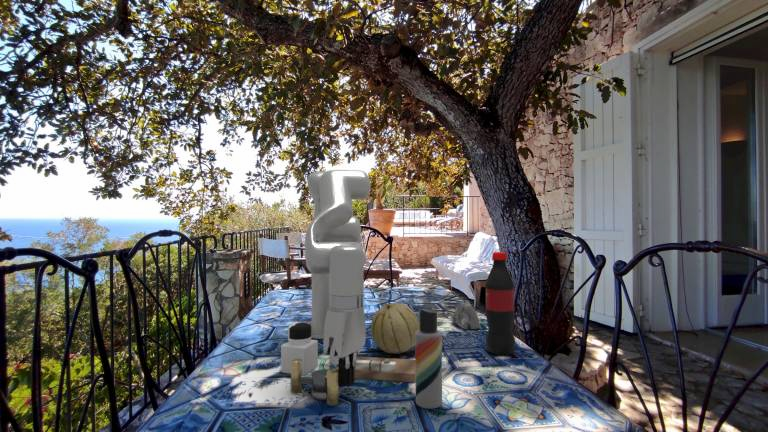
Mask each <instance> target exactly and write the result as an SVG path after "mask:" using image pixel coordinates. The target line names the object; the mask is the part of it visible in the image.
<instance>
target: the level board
mask: <svg viewBox="0 0 768 432" xmlns="http://www.w3.org/2000/svg"><path fill="white" fill-rule="evenodd" d="M335 369H337V370H338V367H337V366H336V368H335ZM354 379H358V380H359V379H360V380H374V381H386V382H387V381H388V382H389V381H390V382H403V383H404V382H405V383H415V359H405V358H388V357H386V358H385V357H372V356H357V357H356V364H355V365H354Z"/></svg>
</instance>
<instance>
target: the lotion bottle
mask: <svg viewBox="0 0 768 432" xmlns="http://www.w3.org/2000/svg"><path fill="white" fill-rule="evenodd" d="M418 313H419V315H418V316H419V319H418V320H419V324H420V330H418V331H416V332H415V345H414V346H415V347H414V349H415V350H414V353H415V354H414V355H415V357H414V360H415V382H414V383H415V388H414V389H415V403H416V405H417V406H418V407H420V408H422V409H430V410H431V409H434V410H435V409H438V408H440V407H441V405H442V404H443V346H442V345H443V335H442V332H441V331H440V330H438V312H437V311H435V310H433V309H431V308H430V309H429V308H421V309H420V311H419V312H418Z"/></svg>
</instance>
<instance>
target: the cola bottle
mask: <svg viewBox="0 0 768 432" xmlns="http://www.w3.org/2000/svg"><path fill="white" fill-rule="evenodd" d="M492 261H493V263H492V267H491V270H490V272H489V274H488V276H487V278H486V282H485V285H484V286H485V287H484V288H485V316H486V322H487V333H486V336H485V346H486V349H487V350H488V352H489V353H491V354H493V355H496V356H509V355H511V354H513V353H514V351H515V348H516V338H515V336H514V333H513V326H514V323H515V322H514V321H515V315H516V314H515V313H516V312H515V310H516V309H515V283H514V281H513V278H512V276H511V274H510V271H509V270H508V267H507V263H506V261H508V259H507V253H506V252H505V251H504V252H503V251H495V252H492Z"/></svg>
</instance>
